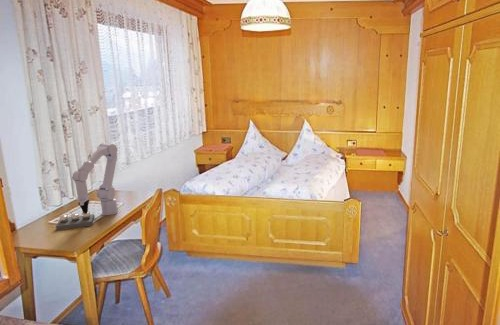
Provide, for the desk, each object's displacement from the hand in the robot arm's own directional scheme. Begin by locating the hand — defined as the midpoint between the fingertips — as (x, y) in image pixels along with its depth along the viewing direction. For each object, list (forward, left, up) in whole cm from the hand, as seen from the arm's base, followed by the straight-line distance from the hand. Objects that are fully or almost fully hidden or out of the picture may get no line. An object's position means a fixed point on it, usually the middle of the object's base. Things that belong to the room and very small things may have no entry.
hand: (85, 212), depth 222 cm
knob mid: (+6, 0, -6) cm, 8 cm away
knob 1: (+12, 0, -6) cm, 13 cm away
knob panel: (+6, 0, -6) cm, 8 cm away
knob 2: (0, 0, -6) cm, 6 cm away
